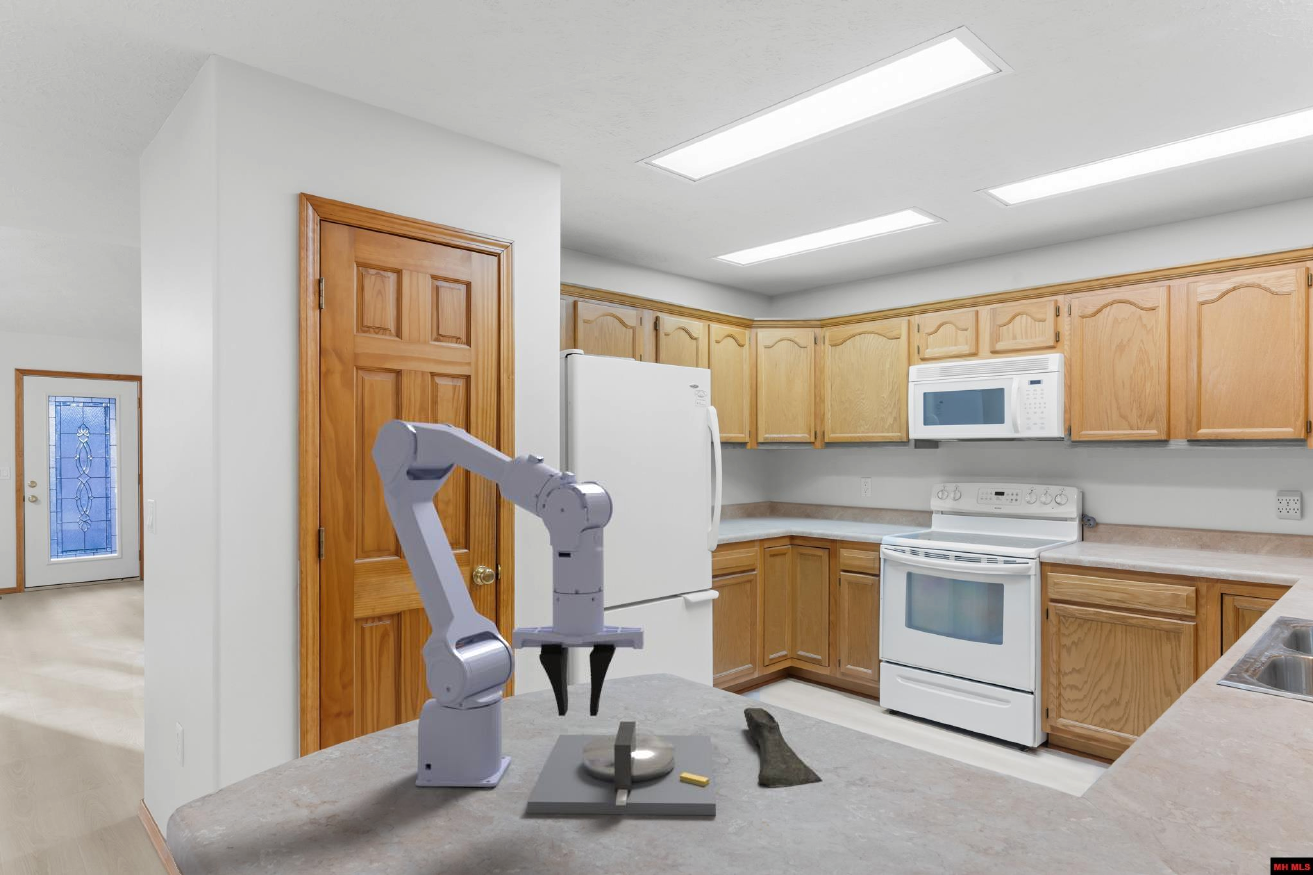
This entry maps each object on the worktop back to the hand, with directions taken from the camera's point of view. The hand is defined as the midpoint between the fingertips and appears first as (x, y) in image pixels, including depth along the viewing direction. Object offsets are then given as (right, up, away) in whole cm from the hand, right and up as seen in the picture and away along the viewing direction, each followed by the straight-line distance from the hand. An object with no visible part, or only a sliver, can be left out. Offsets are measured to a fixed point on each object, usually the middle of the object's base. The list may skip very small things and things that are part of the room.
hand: (578, 713), depth 83 cm
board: (+5, -10, +6) cm, 12 cm away
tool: (+24, -10, +13) cm, 29 cm away
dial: (+5, -8, +5) cm, 11 cm away
